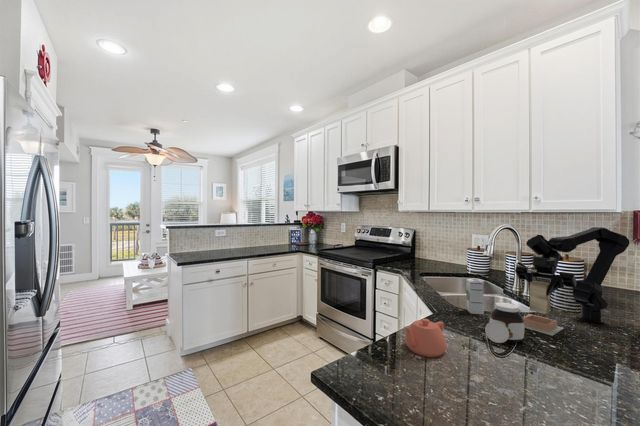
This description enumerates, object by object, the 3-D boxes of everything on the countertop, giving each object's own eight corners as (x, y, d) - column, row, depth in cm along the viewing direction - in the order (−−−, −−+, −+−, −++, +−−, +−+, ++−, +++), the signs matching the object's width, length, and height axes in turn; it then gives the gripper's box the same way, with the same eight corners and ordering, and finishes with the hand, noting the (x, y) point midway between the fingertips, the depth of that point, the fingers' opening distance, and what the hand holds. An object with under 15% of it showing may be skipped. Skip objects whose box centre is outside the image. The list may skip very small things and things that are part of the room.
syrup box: (484, 314, 122) (484, 281, 123) (469, 313, 124) (469, 280, 124) (479, 310, 128) (479, 278, 128) (465, 309, 129) (465, 278, 129)
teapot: (458, 351, 88) (459, 321, 88) (418, 365, 79) (418, 332, 80) (427, 337, 99) (427, 310, 99) (388, 347, 90) (389, 318, 90)
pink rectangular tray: (527, 319, 118) (527, 312, 118) (563, 328, 108) (563, 321, 108) (514, 324, 111) (514, 317, 111) (552, 335, 101) (552, 327, 101)
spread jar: (521, 336, 100) (521, 304, 100) (529, 350, 90) (529, 314, 90) (482, 330, 105) (482, 299, 105) (486, 342, 95) (486, 308, 95)
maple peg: (534, 308, 113) (534, 280, 113) (550, 311, 109) (550, 283, 109) (529, 310, 110) (529, 282, 110) (545, 313, 106) (545, 284, 106)
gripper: (516, 247, 119) (505, 275, 113) (574, 252, 104) (564, 285, 98) (524, 264, 124) (513, 292, 117) (580, 271, 108) (571, 304, 102)
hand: (538, 293), depth 109 cm, fingers closed on maple peg, 5 cm apart
